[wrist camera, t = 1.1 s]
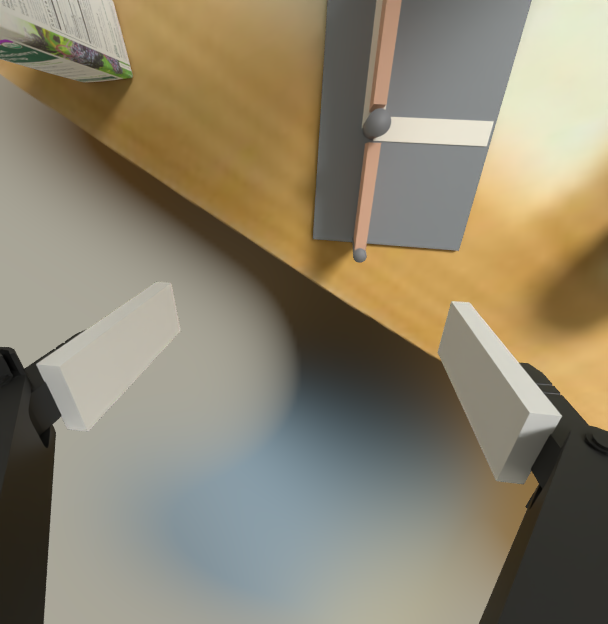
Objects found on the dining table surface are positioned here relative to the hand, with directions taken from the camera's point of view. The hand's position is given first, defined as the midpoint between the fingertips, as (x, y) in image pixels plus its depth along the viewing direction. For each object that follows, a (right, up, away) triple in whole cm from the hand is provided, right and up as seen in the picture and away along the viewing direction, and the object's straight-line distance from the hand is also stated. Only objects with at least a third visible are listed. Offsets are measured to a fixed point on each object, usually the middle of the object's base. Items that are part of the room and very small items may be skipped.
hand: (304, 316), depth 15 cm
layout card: (+10, +18, +15) cm, 25 cm away
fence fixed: (+7, +22, +12) cm, 26 cm away
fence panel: (+6, +12, +17) cm, 22 cm away
